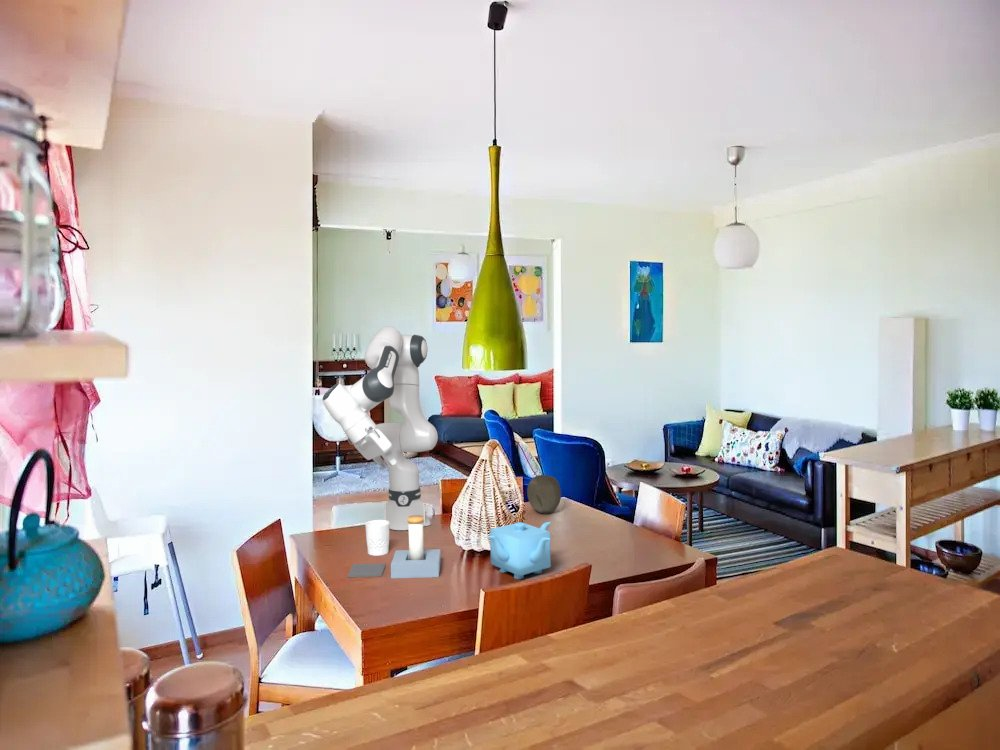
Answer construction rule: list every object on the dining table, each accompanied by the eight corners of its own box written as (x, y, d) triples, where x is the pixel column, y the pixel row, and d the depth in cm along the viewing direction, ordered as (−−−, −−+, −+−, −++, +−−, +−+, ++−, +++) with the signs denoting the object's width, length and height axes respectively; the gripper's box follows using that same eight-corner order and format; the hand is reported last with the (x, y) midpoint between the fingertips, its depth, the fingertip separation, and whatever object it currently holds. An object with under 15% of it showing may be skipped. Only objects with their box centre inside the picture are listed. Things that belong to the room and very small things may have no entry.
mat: (353, 566, 215) (353, 564, 215) (385, 565, 216) (385, 563, 216) (347, 577, 206) (347, 575, 205) (381, 576, 206) (381, 574, 206)
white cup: (392, 549, 232) (392, 519, 232) (386, 556, 224) (386, 526, 224) (369, 548, 233) (369, 519, 232) (363, 556, 225) (362, 526, 225)
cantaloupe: (569, 513, 275) (568, 476, 274) (539, 519, 268) (538, 480, 267) (549, 506, 287) (548, 470, 286) (520, 511, 280) (519, 474, 279)
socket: (396, 562, 218) (395, 550, 218) (440, 561, 219) (440, 549, 218) (391, 578, 204) (390, 565, 204) (438, 577, 205) (438, 563, 204)
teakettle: (494, 561, 219) (493, 515, 218) (553, 562, 216) (553, 515, 216) (486, 582, 200) (485, 532, 199) (551, 584, 198) (550, 533, 197)
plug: (409, 567, 214) (408, 515, 213) (425, 566, 214) (424, 515, 213) (407, 572, 209) (406, 519, 208) (424, 572, 209) (423, 519, 208)
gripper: (379, 419, 206) (407, 455, 207) (361, 429, 224) (388, 462, 225) (362, 432, 203) (392, 469, 204) (346, 441, 221) (373, 475, 222)
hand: (389, 465), depth 215 cm, fingers open, 8 cm apart
